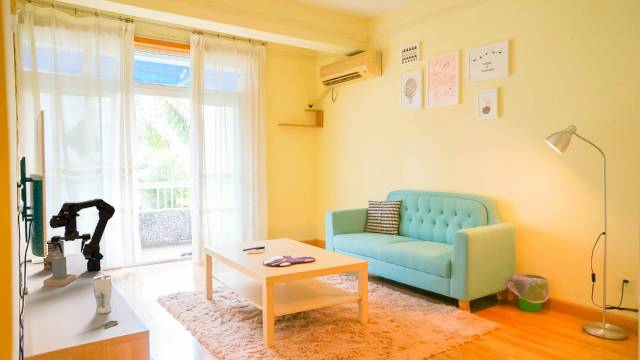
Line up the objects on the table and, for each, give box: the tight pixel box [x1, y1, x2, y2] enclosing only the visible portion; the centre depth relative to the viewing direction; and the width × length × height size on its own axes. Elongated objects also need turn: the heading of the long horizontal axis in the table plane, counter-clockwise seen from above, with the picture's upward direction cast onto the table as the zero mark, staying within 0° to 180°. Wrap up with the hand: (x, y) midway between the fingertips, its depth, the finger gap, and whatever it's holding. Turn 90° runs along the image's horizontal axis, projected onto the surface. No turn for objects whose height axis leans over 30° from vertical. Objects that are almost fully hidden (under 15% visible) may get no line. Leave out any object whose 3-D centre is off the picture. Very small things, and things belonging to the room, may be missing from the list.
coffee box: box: [42, 239, 65, 271], centre depth 256 cm, size 9×6×16 cm
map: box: [100, 320, 118, 330], centre depth 167 cm, size 5×20×1 cm, turn 149°
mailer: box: [42, 273, 81, 287], centre depth 231 cm, size 11×17×3 cm, turn 4°
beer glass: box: [93, 275, 113, 315], centre depth 187 cm, size 7×7×15 cm
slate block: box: [51, 256, 68, 280], centre depth 228 cm, size 5×4×13 cm
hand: (71, 253), depth 238 cm, fingers open, 9 cm apart
